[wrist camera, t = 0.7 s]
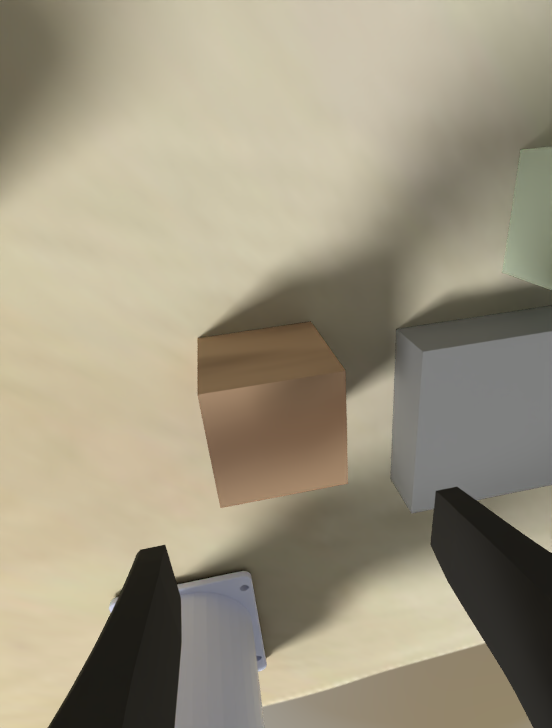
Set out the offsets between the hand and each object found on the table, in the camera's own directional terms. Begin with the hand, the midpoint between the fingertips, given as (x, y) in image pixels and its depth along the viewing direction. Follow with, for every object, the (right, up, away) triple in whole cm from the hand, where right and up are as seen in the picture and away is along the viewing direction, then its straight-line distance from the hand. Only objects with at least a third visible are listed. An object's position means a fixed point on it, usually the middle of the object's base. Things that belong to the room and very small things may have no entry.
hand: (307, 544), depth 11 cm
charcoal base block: (+9, +3, +11) cm, 15 cm away
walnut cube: (-2, +4, +8) cm, 10 cm away
